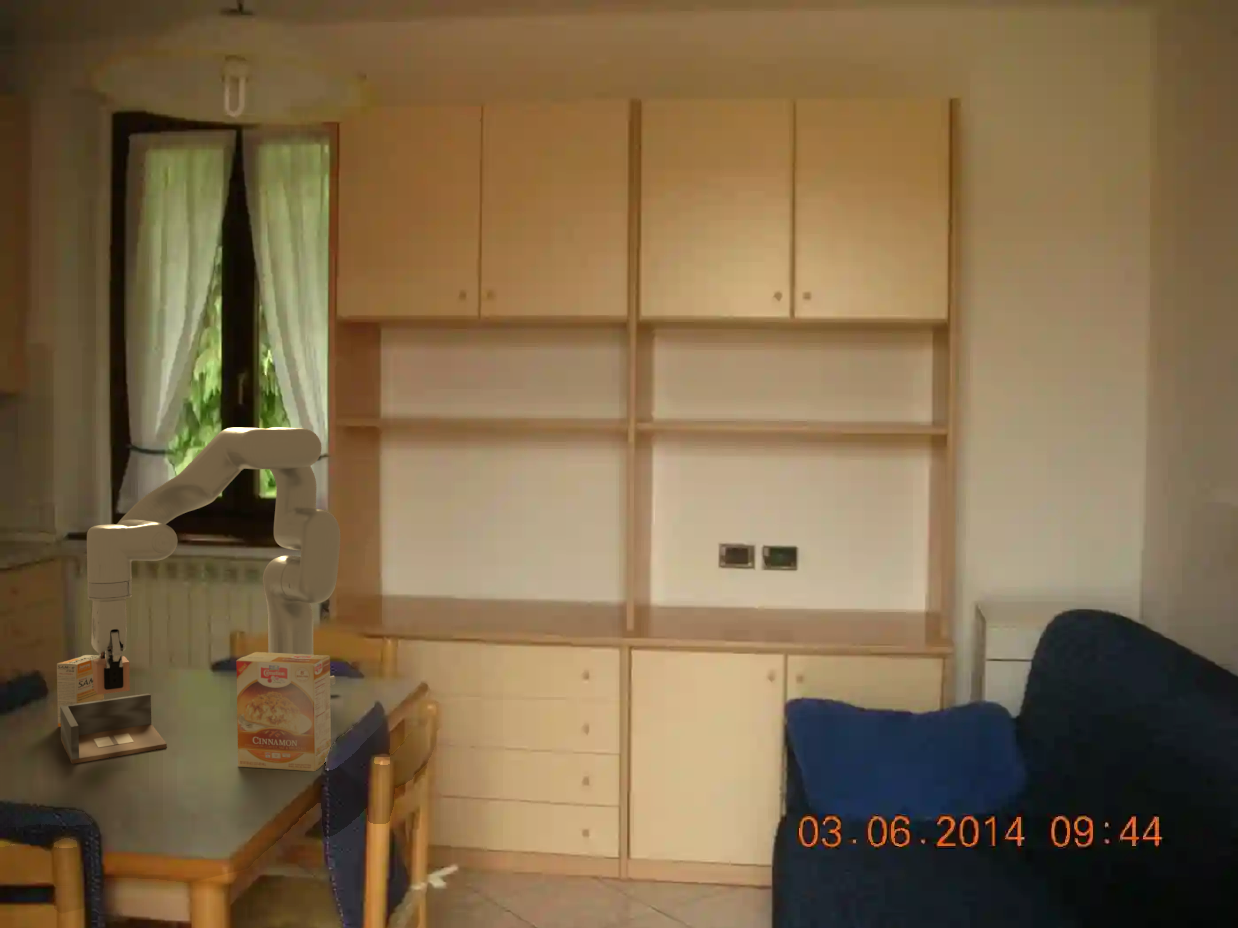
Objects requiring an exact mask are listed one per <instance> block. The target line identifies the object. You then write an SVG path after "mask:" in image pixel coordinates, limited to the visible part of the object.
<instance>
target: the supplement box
mask: <svg viewBox="0 0 1238 928" xmlns="http://www.w3.org/2000/svg"><path fill="white" fill-rule="evenodd" d="M99 655H100V654H99ZM99 655H95V654H84V655H81V656H78V657H74V658H71V659H68V660H65V661H61V662H58V663H56V683H57V684H56V688H57V689H56V691H57V727H59V728H61V720H60V706H63V705H70V704H77V703H84V702H91V701H98V700H105V694H99V695H97V693H96V692H95V690H94V689H93V660H95V659H99Z"/></svg>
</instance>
